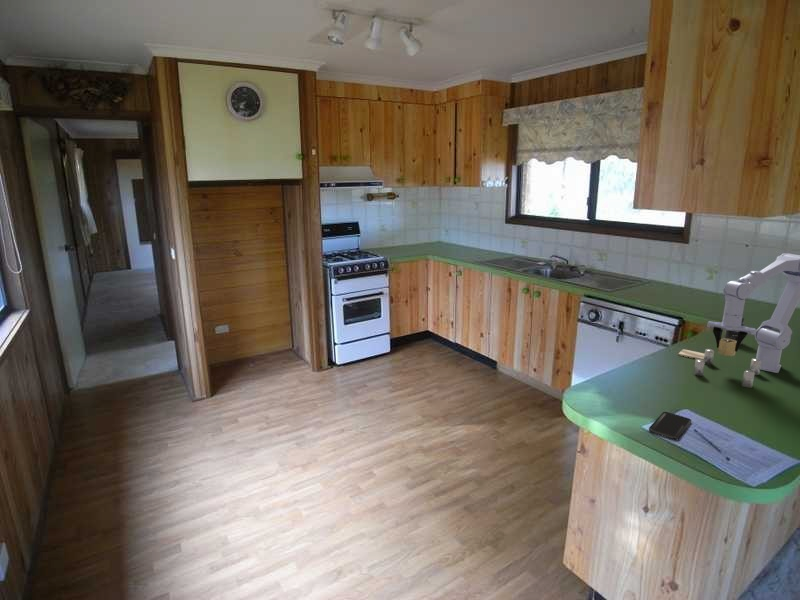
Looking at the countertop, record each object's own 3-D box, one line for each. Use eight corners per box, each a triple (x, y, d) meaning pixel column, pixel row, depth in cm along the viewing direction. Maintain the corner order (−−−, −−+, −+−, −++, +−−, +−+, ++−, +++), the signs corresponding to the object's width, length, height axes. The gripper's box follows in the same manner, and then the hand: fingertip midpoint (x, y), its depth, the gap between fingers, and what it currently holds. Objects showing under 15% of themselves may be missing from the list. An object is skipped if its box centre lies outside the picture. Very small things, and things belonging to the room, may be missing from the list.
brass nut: (720, 349, 180) (722, 337, 179) (736, 352, 177) (738, 340, 175) (717, 353, 176) (719, 340, 175) (733, 357, 172) (735, 343, 171)
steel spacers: (704, 361, 189) (706, 348, 188) (759, 373, 177) (762, 359, 175) (692, 374, 176) (694, 360, 175) (751, 388, 164) (754, 373, 163)
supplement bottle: (733, 346, 205) (738, 319, 202) (719, 341, 212) (723, 315, 209) (746, 344, 207) (750, 318, 204) (731, 339, 213) (735, 314, 210)
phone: (648, 428, 138) (664, 410, 148) (647, 432, 138) (663, 414, 148) (678, 438, 132) (692, 419, 143) (677, 442, 133) (692, 422, 143)
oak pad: (682, 350, 201) (682, 349, 200) (707, 356, 195) (707, 354, 194) (678, 355, 196) (678, 353, 195) (703, 360, 190) (703, 358, 189)
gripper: (707, 312, 174) (702, 347, 178) (755, 320, 165) (749, 356, 168) (711, 308, 179) (706, 342, 183) (758, 315, 170) (752, 351, 173)
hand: (727, 349), depth 176 cm, fingers closed on brass nut, 5 cm apart
